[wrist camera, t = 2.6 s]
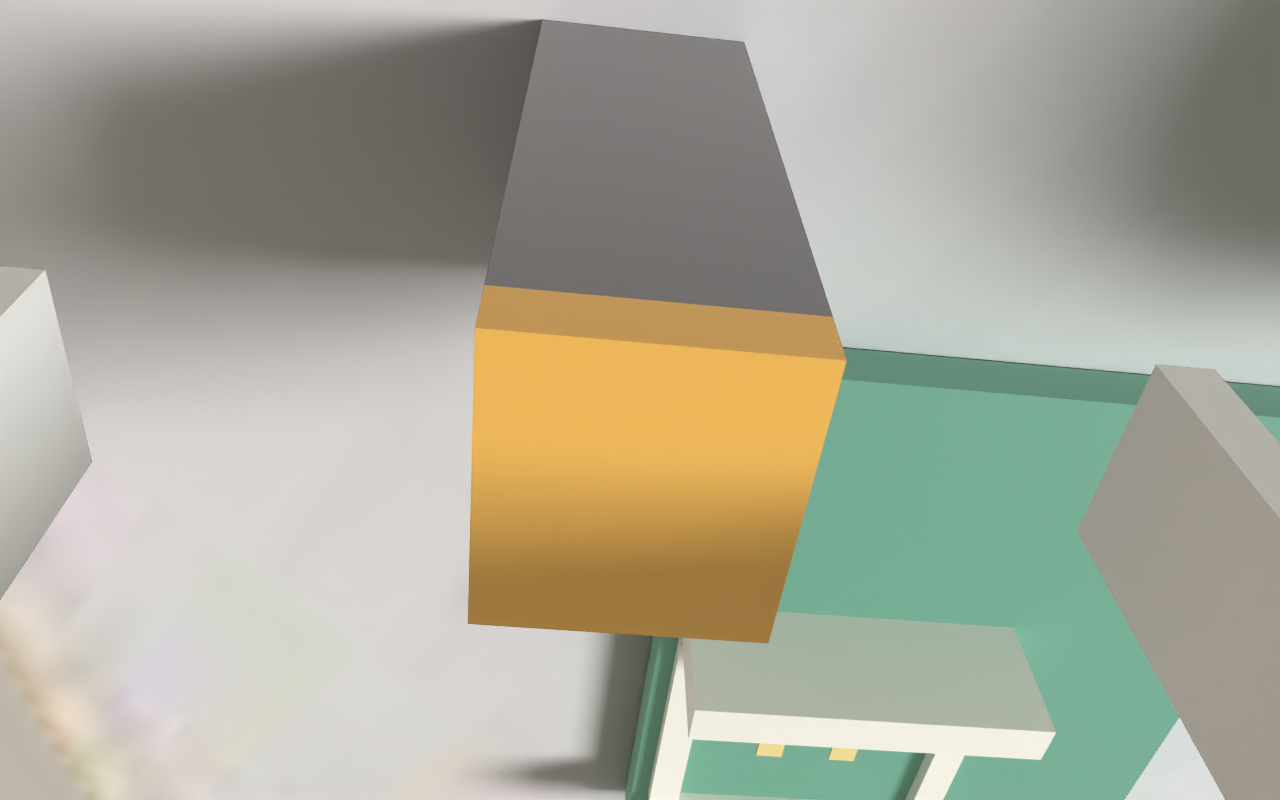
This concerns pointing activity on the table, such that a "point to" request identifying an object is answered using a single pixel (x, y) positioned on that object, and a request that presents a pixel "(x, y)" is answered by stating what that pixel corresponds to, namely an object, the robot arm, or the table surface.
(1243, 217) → the table surface
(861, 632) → the board
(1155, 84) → the table surface
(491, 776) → the table surface
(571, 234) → the plug
